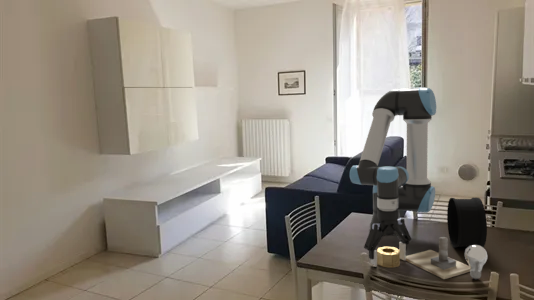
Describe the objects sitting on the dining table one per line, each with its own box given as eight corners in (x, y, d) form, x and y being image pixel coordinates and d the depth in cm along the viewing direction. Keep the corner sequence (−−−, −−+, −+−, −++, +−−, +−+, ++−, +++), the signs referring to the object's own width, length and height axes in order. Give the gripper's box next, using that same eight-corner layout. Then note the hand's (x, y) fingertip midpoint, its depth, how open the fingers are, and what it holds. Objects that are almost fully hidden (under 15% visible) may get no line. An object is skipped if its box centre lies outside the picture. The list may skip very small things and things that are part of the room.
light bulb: (462, 273, 147) (463, 240, 146) (484, 275, 145) (485, 242, 144) (465, 282, 141) (466, 248, 139) (489, 284, 139) (489, 249, 137)
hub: (373, 261, 161) (373, 249, 161) (389, 257, 164) (389, 245, 164) (387, 269, 154) (387, 256, 153) (404, 264, 157) (404, 251, 156)
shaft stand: (403, 259, 162) (402, 231, 160) (430, 252, 168) (430, 225, 166) (444, 279, 144) (444, 248, 142) (473, 270, 149) (473, 240, 148)
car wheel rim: (486, 256, 161) (487, 205, 158) (458, 255, 163) (458, 205, 160) (472, 237, 180) (472, 192, 178) (447, 237, 182) (447, 192, 180)
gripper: (366, 216, 148) (367, 273, 151) (421, 205, 158) (421, 259, 161) (353, 211, 155) (354, 266, 157) (406, 201, 165) (407, 253, 167)
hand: (388, 263), depth 159 cm, fingers open, 13 cm apart
